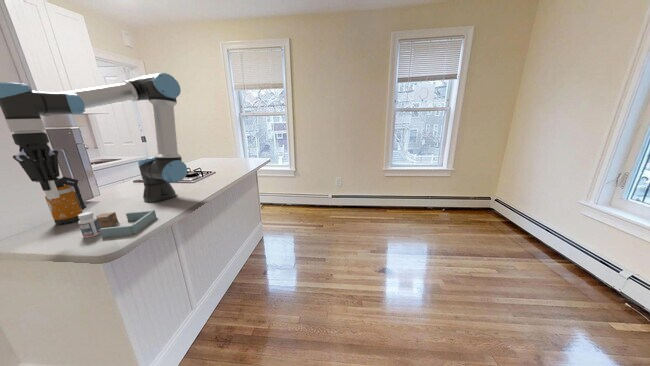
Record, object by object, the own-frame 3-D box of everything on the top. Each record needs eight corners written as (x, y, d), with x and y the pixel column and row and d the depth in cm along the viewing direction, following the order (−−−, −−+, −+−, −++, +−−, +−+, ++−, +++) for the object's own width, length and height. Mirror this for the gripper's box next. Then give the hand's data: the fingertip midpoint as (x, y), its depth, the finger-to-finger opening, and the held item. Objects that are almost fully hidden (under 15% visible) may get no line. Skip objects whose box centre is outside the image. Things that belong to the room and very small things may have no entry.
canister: (56, 221, 104) (39, 178, 99) (90, 213, 112) (76, 173, 106) (54, 227, 98) (36, 182, 93) (90, 218, 106) (76, 176, 100)
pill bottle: (97, 230, 93) (90, 210, 91) (104, 232, 91) (97, 211, 89) (80, 236, 89) (72, 215, 86) (87, 238, 87) (80, 217, 84)
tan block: (105, 223, 100) (102, 213, 98) (118, 222, 100) (115, 212, 99) (96, 229, 95) (92, 218, 94) (110, 227, 96) (106, 216, 94)
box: (129, 220, 102) (127, 212, 101) (156, 217, 104) (154, 210, 103) (102, 237, 87) (99, 229, 86) (134, 234, 89) (132, 226, 88)
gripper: (35, 131, 84) (58, 193, 90) (-8, 134, 71) (22, 205, 78) (59, 130, 85) (80, 191, 91) (21, 132, 72) (48, 203, 79)
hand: (53, 198), depth 84 cm, fingers closed
